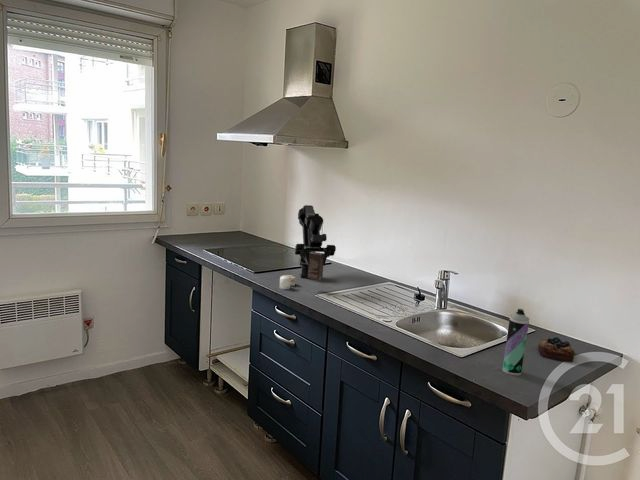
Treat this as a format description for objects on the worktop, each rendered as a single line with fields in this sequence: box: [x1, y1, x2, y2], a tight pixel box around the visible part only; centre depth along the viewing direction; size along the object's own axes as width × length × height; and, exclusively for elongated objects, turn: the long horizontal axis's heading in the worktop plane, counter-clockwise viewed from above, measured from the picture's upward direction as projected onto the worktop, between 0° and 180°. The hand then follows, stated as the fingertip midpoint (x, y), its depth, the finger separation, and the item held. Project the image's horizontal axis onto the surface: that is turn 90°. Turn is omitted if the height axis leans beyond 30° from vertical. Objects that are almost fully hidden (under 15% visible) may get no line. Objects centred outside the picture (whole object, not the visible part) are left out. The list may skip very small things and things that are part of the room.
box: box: [307, 252, 324, 281], centre depth 223 cm, size 6×4×12 cm
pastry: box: [537, 336, 575, 363], centre depth 165 cm, size 11×12×6 cm
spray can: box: [502, 308, 530, 376], centre depth 147 cm, size 6×6×20 cm
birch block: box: [281, 274, 296, 287], centre depth 231 cm, size 5×5×4 cm
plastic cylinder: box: [279, 275, 291, 290], centre depth 224 cm, size 5×5×5 cm
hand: (316, 265), depth 221 cm, fingers closed on box, 7 cm apart
